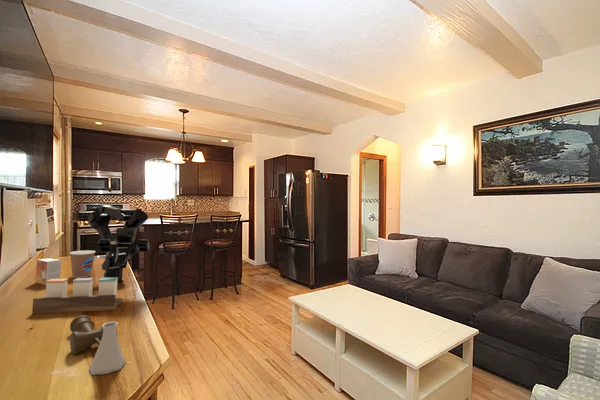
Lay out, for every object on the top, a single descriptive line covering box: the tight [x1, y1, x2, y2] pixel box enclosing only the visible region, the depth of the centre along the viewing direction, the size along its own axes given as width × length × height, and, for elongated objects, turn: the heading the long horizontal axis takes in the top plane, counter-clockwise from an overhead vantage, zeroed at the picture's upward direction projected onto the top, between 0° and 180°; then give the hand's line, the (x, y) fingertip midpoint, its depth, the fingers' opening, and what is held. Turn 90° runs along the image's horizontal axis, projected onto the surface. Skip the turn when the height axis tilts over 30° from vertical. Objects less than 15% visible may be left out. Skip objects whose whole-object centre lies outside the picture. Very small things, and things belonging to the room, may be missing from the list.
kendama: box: [69, 315, 118, 356], centre depth 78 cm, size 6×10×20 cm
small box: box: [34, 257, 62, 286], centre depth 130 cm, size 8×6×10 cm
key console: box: [31, 295, 123, 315], centre depth 103 cm, size 9×24×5 cm, turn 106°
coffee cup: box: [69, 249, 96, 279], centre depth 144 cm, size 10×10×12 cm
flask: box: [88, 321, 126, 376], centre depth 68 cm, size 7×7×10 cm
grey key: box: [72, 277, 95, 296], centre depth 104 cm, size 3×5×8 cm, turn 106°
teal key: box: [97, 277, 118, 297], centre depth 106 cm, size 3×5×8 cm, turn 106°
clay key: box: [44, 277, 69, 298], centre depth 102 cm, size 3×5×8 cm, turn 106°
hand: (119, 262), depth 118 cm, fingers open, 3 cm apart
